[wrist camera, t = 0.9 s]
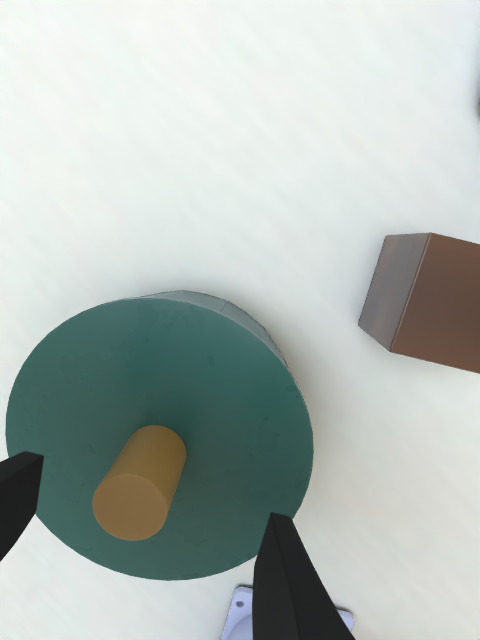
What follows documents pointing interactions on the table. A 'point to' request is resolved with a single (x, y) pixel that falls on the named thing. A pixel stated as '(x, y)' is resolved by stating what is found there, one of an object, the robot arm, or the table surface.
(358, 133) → the table surface
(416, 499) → the table surface
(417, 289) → the block
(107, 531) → the lid
